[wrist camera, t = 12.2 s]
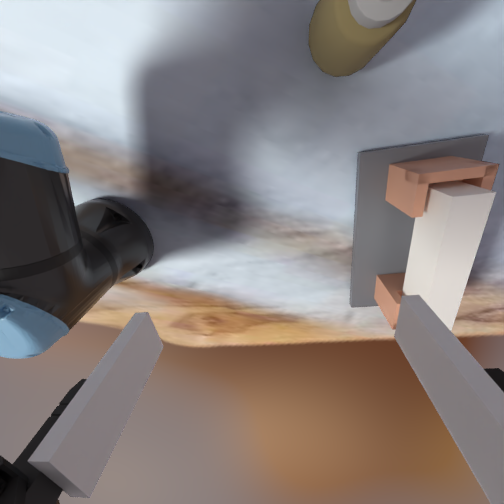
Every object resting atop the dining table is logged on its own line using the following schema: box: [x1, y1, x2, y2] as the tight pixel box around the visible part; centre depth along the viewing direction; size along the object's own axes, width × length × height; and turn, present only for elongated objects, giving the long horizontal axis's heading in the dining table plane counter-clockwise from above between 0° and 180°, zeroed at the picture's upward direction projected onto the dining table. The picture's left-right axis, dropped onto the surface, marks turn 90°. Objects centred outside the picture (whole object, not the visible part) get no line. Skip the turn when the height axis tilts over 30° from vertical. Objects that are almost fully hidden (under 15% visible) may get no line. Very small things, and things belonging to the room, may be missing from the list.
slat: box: [401, 180, 496, 331], centre depth 32 cm, size 4×20×6 cm, turn 9°
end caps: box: [350, 135, 499, 329], centre depth 36 cm, size 16×28×9 cm, turn 8°
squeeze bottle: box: [309, 0, 416, 77], centre depth 21 cm, size 8×8×18 cm
